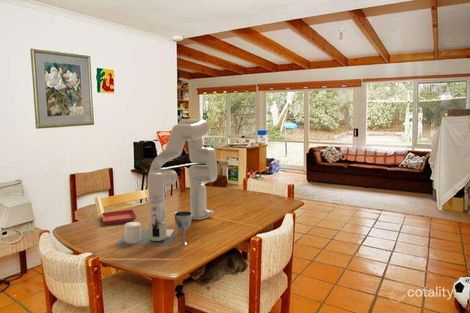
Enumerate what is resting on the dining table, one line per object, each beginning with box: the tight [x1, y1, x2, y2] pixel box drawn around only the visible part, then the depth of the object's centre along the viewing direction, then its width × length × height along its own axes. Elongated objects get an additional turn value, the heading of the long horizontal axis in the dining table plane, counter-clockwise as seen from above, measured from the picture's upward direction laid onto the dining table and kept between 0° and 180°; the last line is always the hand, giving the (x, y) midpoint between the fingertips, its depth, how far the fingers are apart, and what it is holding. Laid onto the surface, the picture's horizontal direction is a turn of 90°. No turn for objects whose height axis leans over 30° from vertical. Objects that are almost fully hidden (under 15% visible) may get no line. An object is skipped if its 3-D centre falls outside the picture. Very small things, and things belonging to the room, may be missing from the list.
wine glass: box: [174, 210, 193, 245], centre depth 156 cm, size 8×8×15 cm
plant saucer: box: [101, 209, 137, 225], centre depth 193 cm, size 18×18×3 cm
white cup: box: [123, 221, 142, 243], centre depth 159 cm, size 8×8×8 cm
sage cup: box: [148, 219, 167, 241], centre depth 159 cm, size 8×8×8 cm
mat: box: [114, 228, 178, 246], centre depth 164 cm, size 26×21×1 cm
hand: (158, 233), depth 159 cm, fingers closed on sage cup, 7 cm apart
